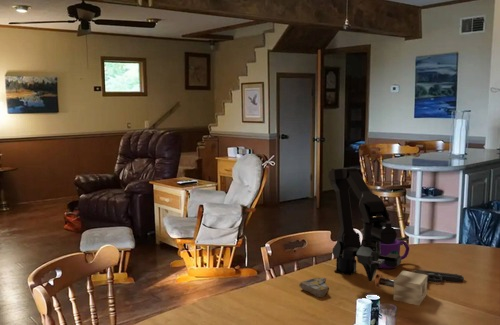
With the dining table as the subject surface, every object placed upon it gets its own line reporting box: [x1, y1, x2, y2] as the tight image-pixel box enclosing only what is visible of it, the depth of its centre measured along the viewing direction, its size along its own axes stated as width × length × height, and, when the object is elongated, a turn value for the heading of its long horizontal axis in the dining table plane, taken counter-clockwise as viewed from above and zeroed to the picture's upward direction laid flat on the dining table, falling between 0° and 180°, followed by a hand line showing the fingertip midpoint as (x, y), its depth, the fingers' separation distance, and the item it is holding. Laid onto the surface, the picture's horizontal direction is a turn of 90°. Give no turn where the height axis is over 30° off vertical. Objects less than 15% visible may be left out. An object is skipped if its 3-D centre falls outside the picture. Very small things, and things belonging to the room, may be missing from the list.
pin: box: [374, 273, 394, 289], centre depth 160 cm, size 12×4×4 cm, turn 57°
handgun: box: [412, 269, 465, 287], centre depth 170 cm, size 3×18×12 cm
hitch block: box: [393, 270, 428, 306], centre depth 157 cm, size 8×10×7 cm
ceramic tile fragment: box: [298, 277, 329, 298], centre depth 163 cm, size 12×3×10 cm
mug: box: [372, 238, 410, 270], centre depth 189 cm, size 17×11×10 cm, turn 111°
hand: (370, 281), depth 164 cm, fingers closed
